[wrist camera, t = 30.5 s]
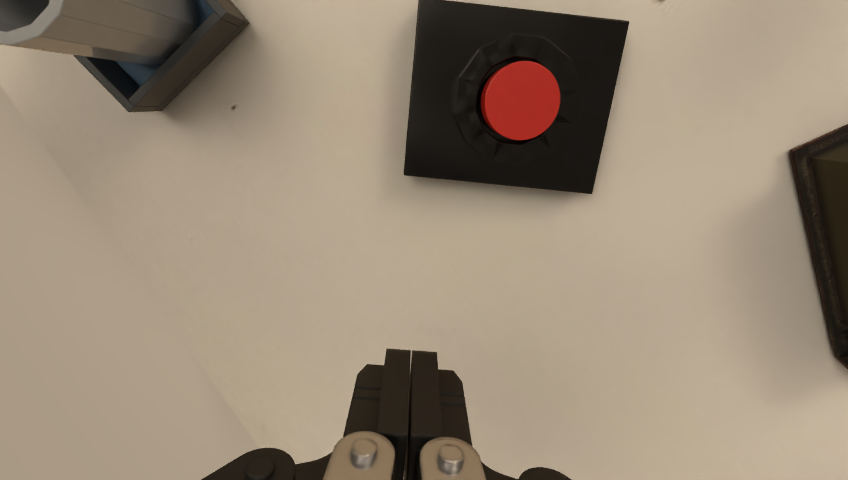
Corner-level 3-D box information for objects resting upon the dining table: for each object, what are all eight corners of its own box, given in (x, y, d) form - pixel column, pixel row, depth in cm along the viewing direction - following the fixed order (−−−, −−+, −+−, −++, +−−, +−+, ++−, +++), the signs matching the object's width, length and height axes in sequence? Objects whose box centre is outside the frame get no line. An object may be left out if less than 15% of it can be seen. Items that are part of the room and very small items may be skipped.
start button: (476, 134, 25) (479, 136, 24) (485, 60, 24) (490, 56, 22) (544, 141, 25) (552, 143, 24) (557, 68, 24) (567, 65, 23)
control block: (404, 170, 30) (402, 180, 26) (419, 5, 27) (418, -11, 23) (580, 187, 30) (603, 200, 26) (614, 27, 27) (645, 14, 23)
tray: (161, 111, 28) (128, 112, 25) (56, 2, 26) (7, -12, 23) (250, 23, 27) (227, 12, 24) (145, -100, 25) (105, -130, 22)
